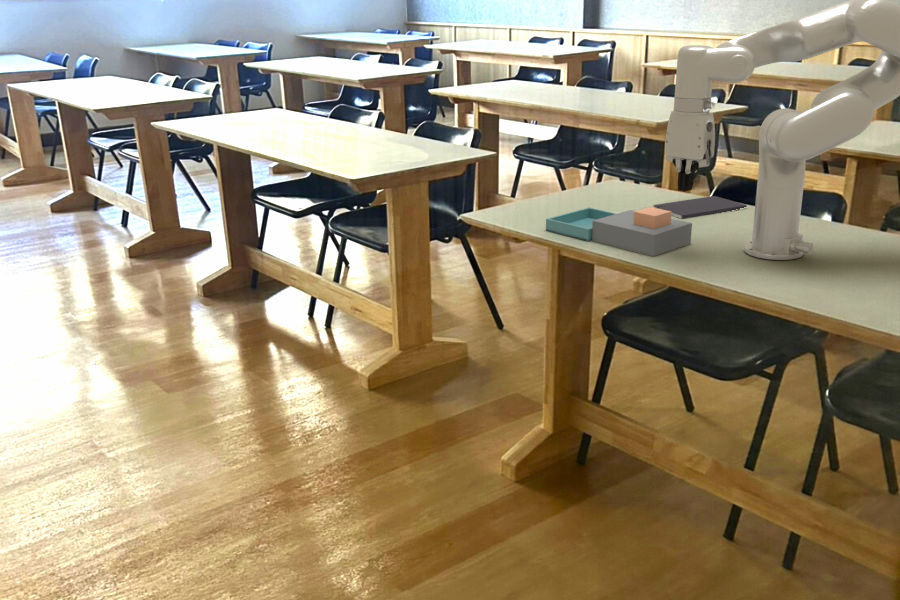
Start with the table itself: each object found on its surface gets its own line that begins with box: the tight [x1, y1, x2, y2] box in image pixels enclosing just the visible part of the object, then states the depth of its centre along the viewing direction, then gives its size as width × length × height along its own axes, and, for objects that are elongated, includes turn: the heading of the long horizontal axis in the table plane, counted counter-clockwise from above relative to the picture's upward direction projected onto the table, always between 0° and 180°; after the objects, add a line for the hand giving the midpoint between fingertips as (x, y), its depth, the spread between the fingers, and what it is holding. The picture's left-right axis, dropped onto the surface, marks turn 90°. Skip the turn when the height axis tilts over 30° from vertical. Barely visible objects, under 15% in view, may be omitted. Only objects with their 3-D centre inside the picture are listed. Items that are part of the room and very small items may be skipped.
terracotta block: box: [634, 206, 672, 229], centre depth 200 cm, size 6×6×3 cm
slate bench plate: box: [591, 209, 693, 257], centre depth 204 cm, size 18×14×5 cm
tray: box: [545, 207, 617, 242], centre depth 216 cm, size 14×16×3 cm
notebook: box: [653, 195, 747, 220], centre depth 233 cm, size 13×2×21 cm
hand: (684, 190), depth 191 cm, fingers closed
